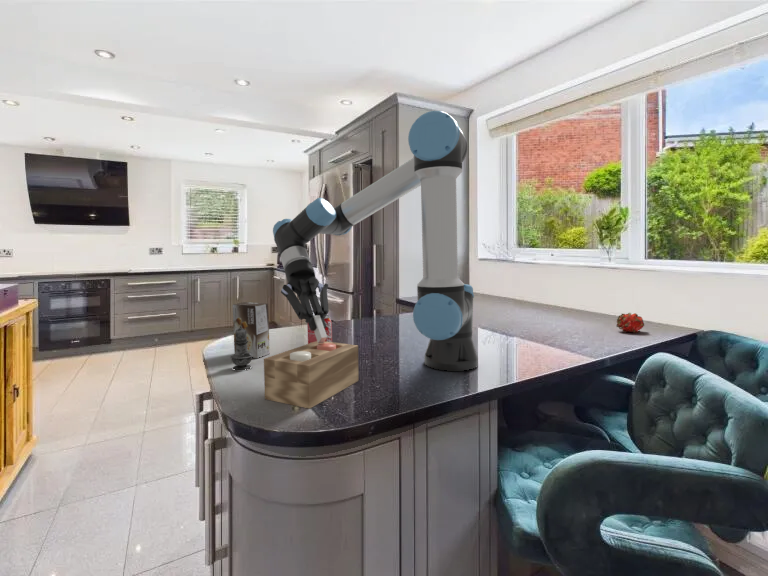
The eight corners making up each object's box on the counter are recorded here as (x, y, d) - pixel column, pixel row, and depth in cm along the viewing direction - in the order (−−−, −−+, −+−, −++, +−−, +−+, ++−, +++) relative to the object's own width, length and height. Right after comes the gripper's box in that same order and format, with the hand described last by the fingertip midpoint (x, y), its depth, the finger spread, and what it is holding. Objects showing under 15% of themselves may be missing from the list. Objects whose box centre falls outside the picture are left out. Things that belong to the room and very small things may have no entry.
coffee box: (270, 353, 128) (269, 303, 127) (257, 358, 122) (255, 305, 121) (247, 351, 132) (245, 301, 130) (233, 355, 126) (231, 304, 124)
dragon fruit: (613, 336, 163) (639, 339, 165) (628, 326, 156) (655, 330, 158) (607, 317, 168) (633, 320, 170) (622, 307, 161) (648, 311, 163)
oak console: (358, 380, 102) (358, 345, 101) (309, 408, 84) (308, 365, 83) (318, 374, 107) (318, 340, 106) (264, 399, 90) (263, 358, 89)
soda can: (327, 363, 117) (327, 318, 116) (304, 362, 119) (303, 317, 118) (335, 357, 124) (335, 314, 123) (313, 356, 126) (312, 314, 125)
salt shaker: (234, 365, 115) (232, 323, 114) (255, 365, 116) (254, 323, 115) (227, 371, 109) (226, 327, 108) (250, 371, 110) (249, 327, 109)
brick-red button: (339, 361, 101) (339, 344, 100) (329, 366, 97) (329, 348, 96) (324, 359, 103) (324, 342, 102) (313, 364, 99) (313, 346, 98)
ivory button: (315, 371, 92) (315, 352, 91) (302, 377, 88) (302, 357, 87) (299, 369, 94) (298, 350, 93) (285, 374, 90) (285, 354, 89)
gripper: (315, 275, 118) (341, 345, 106) (271, 276, 111) (293, 351, 99) (324, 257, 113) (351, 329, 101) (277, 257, 106) (301, 334, 94)
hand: (322, 340), depth 100 cm, fingers closed
